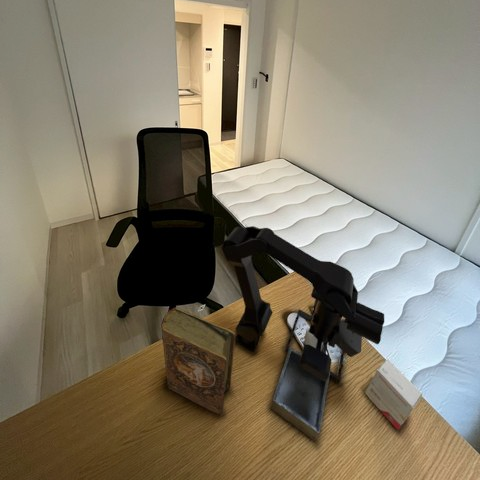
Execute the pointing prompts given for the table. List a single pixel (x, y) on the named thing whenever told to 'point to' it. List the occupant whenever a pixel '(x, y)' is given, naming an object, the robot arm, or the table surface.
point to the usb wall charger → (310, 339)
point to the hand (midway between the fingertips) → (314, 350)
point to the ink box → (393, 393)
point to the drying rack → (308, 317)
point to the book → (197, 358)
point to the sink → (300, 396)
